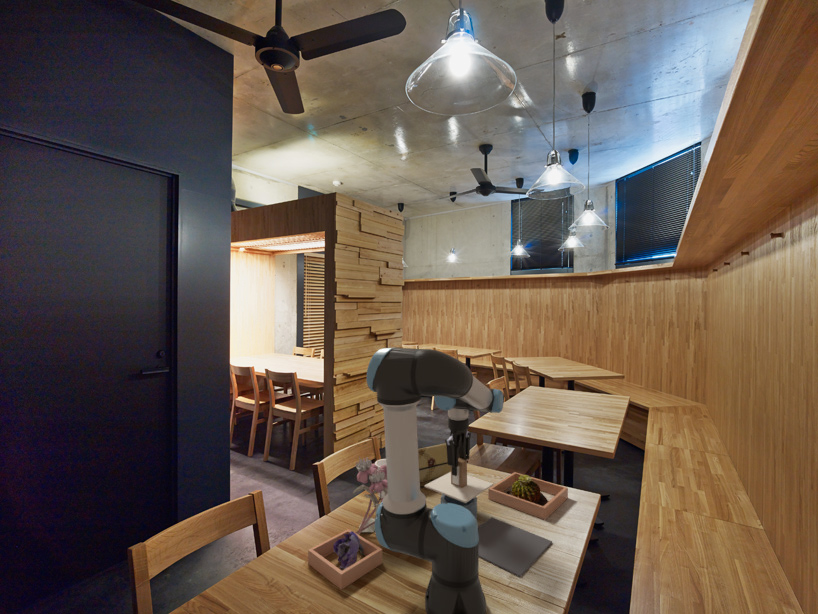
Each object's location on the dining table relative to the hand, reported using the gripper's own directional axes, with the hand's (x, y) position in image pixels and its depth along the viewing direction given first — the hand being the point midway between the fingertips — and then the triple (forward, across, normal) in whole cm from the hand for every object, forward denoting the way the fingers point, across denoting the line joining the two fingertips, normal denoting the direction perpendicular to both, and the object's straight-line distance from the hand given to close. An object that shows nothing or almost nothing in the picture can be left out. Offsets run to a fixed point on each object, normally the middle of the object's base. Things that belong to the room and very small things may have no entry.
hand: (458, 481), depth 140 cm
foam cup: (+12, -7, +31) cm, 34 cm away
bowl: (+12, 0, 0) cm, 12 cm away
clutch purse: (+12, +15, +25) cm, 32 cm away
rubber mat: (+12, -5, -21) cm, 25 cm away
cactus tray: (+12, +29, -13) cm, 34 cm away
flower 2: (+12, -24, +12) cm, 30 cm away
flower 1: (+12, -44, +9) cm, 46 cm away
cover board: (+2, 0, 0) cm, 2 cm away
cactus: (+13, +27, -13) cm, 32 cm away
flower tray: (+12, -45, +9) cm, 48 cm away
